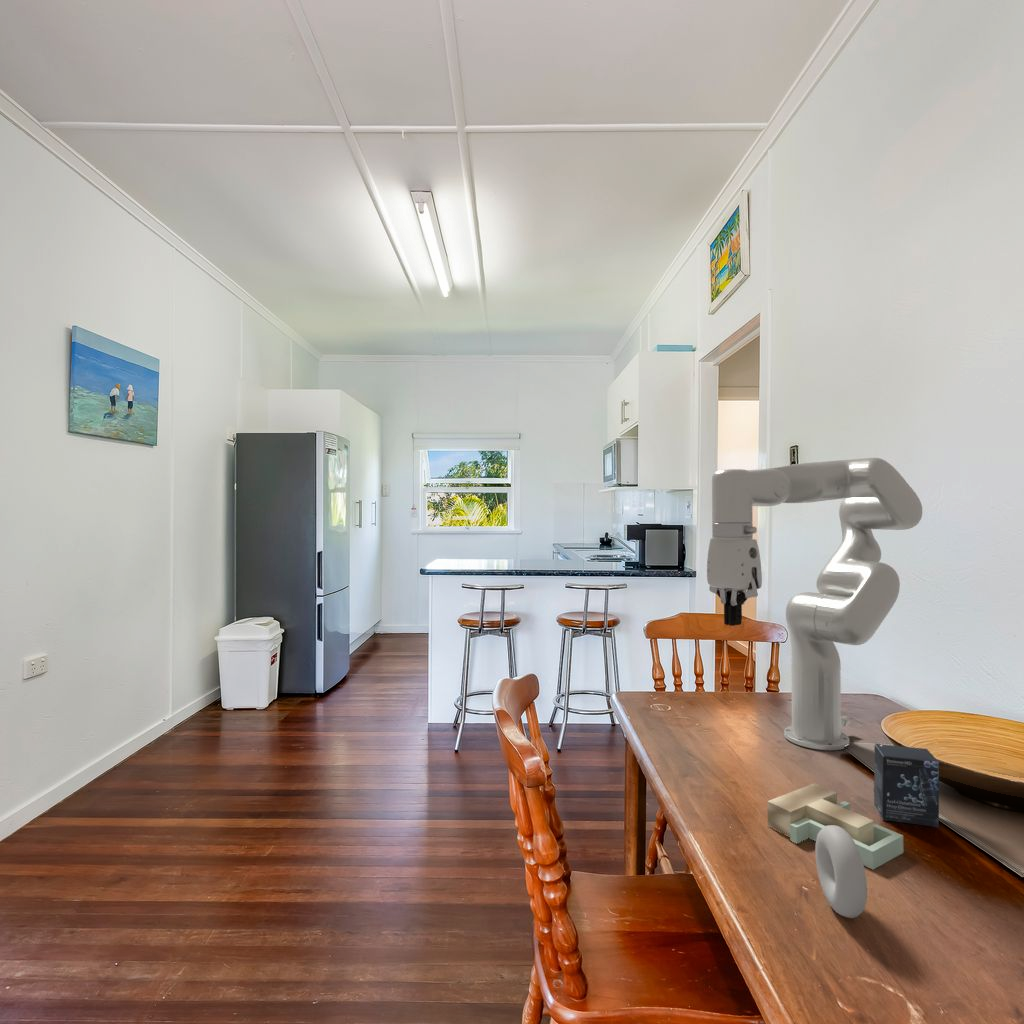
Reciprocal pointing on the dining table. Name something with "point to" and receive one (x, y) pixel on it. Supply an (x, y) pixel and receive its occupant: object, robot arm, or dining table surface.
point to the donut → (841, 871)
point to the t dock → (872, 856)
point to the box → (906, 785)
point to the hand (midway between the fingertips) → (732, 624)
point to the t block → (818, 813)
